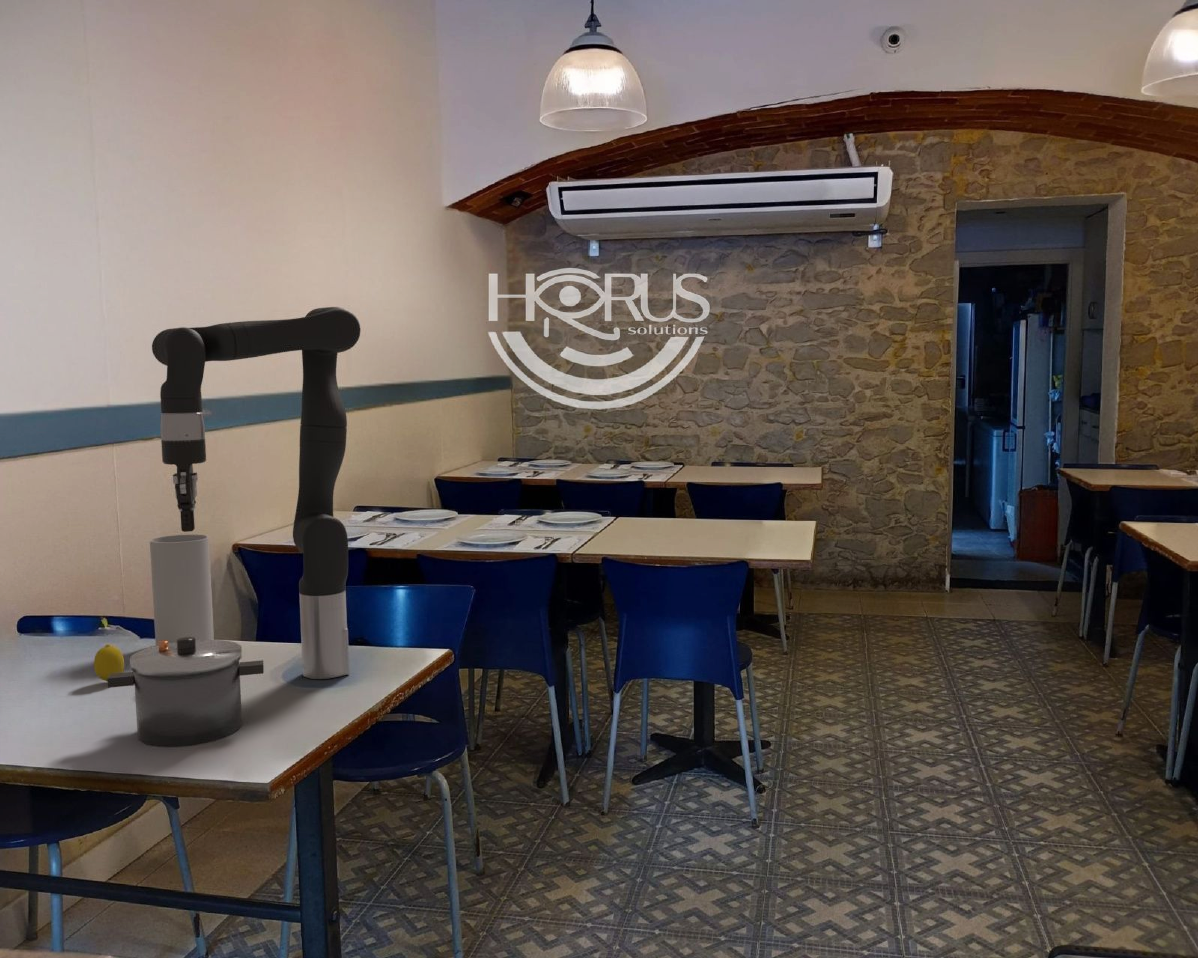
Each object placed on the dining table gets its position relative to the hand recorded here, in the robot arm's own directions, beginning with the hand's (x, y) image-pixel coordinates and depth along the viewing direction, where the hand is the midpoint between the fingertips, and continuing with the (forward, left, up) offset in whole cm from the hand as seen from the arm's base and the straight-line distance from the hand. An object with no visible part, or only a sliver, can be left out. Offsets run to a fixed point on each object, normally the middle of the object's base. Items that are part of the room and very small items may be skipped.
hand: (188, 530), depth 192 cm
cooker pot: (0, +15, -33) cm, 36 cm away
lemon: (+18, -21, -33) cm, 43 cm away
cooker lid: (0, +15, -21) cm, 26 cm away
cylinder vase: (+6, -48, -33) cm, 59 cm away
